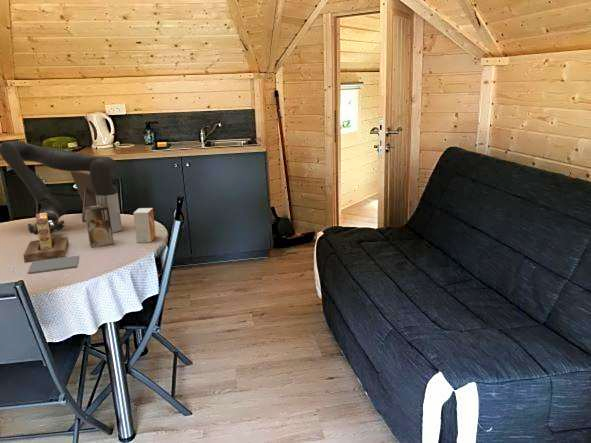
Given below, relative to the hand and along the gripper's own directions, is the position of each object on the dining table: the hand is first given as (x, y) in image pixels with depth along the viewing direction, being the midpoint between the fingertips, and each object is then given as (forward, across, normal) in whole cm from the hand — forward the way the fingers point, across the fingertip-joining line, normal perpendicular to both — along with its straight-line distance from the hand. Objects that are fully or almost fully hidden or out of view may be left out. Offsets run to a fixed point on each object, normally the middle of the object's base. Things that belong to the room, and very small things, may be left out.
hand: (43, 231), depth 188 cm
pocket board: (-1, 0, +9) cm, 9 cm away
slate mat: (+16, +4, +9) cm, 19 cm away
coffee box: (-4, +20, +9) cm, 23 cm away
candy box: (-1, 0, +9) cm, 9 cm away
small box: (-2, +38, +9) cm, 39 cm away
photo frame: (-52, +15, +9) cm, 55 cm away
